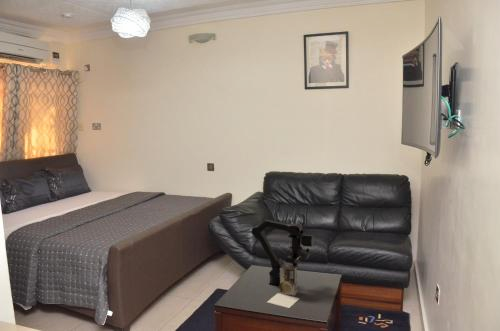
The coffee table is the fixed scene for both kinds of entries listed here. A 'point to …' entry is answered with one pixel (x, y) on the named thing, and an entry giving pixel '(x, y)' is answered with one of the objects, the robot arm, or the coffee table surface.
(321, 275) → the coffee table surface
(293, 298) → the mat
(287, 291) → the coffee box
